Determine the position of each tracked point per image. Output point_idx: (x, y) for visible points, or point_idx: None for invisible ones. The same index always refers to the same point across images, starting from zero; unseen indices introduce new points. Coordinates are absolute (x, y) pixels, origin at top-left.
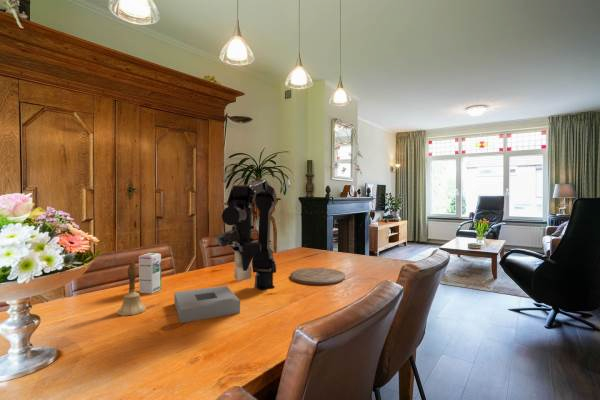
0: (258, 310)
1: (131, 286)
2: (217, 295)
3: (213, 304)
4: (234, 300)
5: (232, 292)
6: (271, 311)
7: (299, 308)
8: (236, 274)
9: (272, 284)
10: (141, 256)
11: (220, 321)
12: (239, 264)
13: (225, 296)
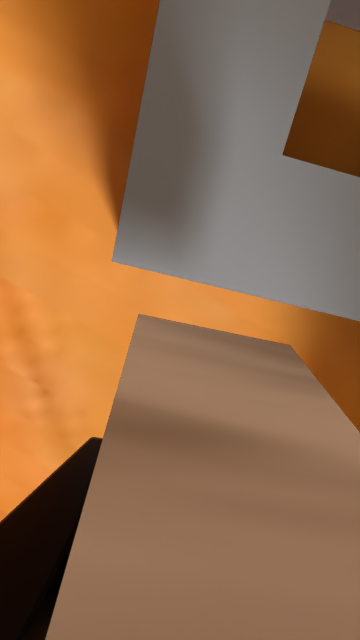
0: (96, 345)
1: None
2: (333, 181)
3: (157, 34)
4: (137, 229)
5: (307, 307)
6: (45, 386)
7: (6, 494)
8: (223, 351)
9: None
10: None
11: (71, 78)
12: (102, 461)
13: (264, 220)
